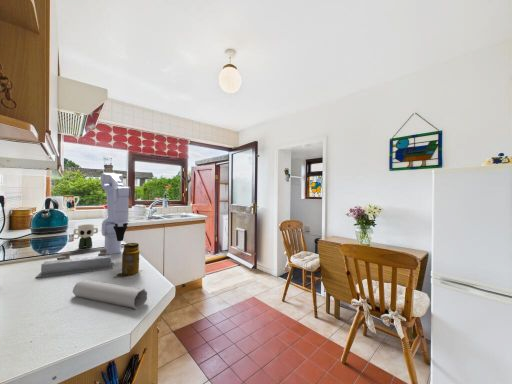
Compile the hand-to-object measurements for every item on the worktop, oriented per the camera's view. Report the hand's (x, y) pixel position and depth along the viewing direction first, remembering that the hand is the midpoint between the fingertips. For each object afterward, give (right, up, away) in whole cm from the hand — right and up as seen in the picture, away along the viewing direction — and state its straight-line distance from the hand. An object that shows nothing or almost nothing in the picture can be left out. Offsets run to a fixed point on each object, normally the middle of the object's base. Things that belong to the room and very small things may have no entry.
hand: (120, 239), depth 103 cm
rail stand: (-13, -9, -6) cm, 17 cm away
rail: (-8, -9, -14) cm, 19 cm away
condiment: (+14, -11, -17) cm, 25 cm away
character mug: (-32, -9, +19) cm, 38 cm away
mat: (-8, -10, -14) cm, 19 cm away
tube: (+20, -11, -38) cm, 44 cm away
